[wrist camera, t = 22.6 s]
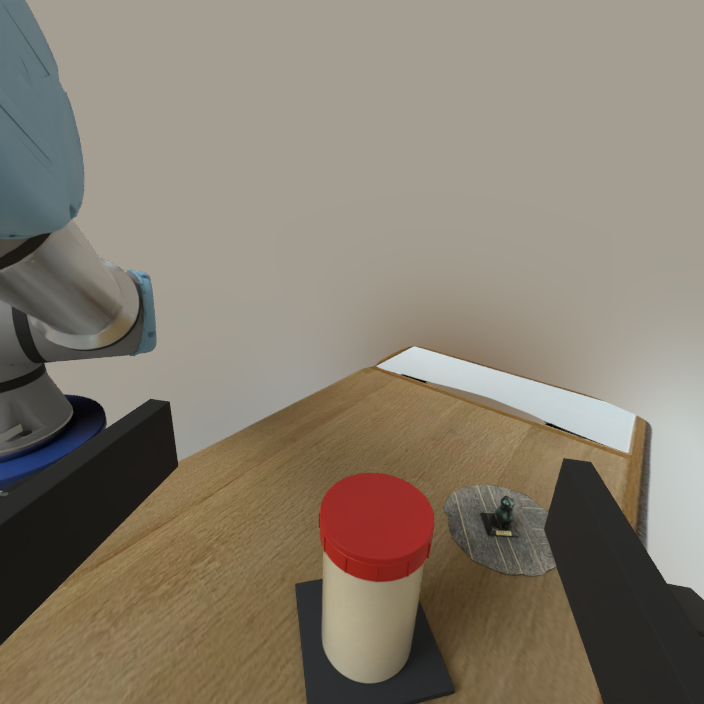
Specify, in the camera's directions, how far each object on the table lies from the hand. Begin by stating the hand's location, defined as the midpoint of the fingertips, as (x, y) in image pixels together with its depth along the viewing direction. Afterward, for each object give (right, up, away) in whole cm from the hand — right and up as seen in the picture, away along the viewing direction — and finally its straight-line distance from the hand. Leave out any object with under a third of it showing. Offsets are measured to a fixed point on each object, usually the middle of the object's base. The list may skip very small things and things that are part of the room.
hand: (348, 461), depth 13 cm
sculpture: (+16, -15, +28) cm, 36 cm away
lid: (+2, -7, +13) cm, 15 cm away
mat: (+1, -18, +17) cm, 25 cm away
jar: (+1, -18, +17) cm, 25 cm away
